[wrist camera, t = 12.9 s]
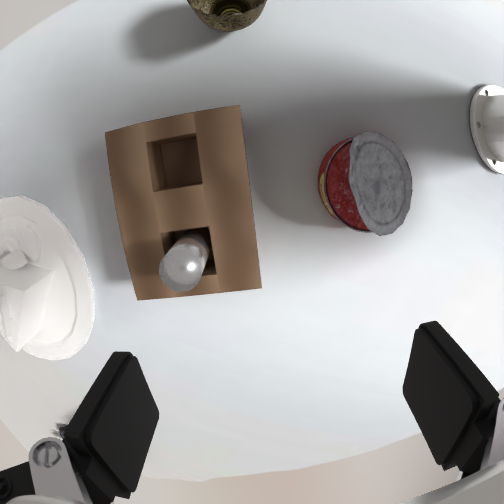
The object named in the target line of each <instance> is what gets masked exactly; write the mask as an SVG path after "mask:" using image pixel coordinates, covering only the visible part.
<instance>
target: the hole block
mask: <svg viewBox="0 0 504 504" xmlns="http://www.w3.org/2000/svg"><path fill="white" fill-rule="evenodd" d="M105 137H106V146H107V154H108V161H109V169H110V176H111V182H112V188H113V194H114V200H115V206H116V211H117V216H118V222H119V226H120V231H121V236H122V241H123V245H124V250H125V254H126V258H127V262H128V267H129V271H130V275H131V278H132V282H133V286H134V290H135V294H136V297H137V300H149V299H161V298H172V297H183V296H194V295H204V294H213V293H223V292H232V291H241V290H250V289H259V288H262V285H261V277H260V268H259V259H258V251H257V242H256V234H255V226H254V218H253V209H252V201H251V193H250V185H249V177H248V169H247V161H246V152H245V144H244V136H243V128H242V121H241V113H240V106H239V105H237V106H230V107H222V108H215V109H209V110H203V111H197V112H191V113H186V114H181V115H175V116H170V117H166V118H161V119H156V120H152V121H148V122H143V123H139V124H135V125H131V126H127V127H124V128H120V129H116V130H113V131H109V132H106V133H105ZM199 227H206V228H208V229H209V230H210V235H211V242H212V249H211V252H210V254H209V257H208V259H207V262H206V265H205V267H204V270H203V272H202V275H201V278H200V280H199V282H198V284H197V285H196V286H195V287H194V288H193V289H191V290H189V291H186V292H178V291H174V290H172V289H170V288H168V287H167V286H166V285H165V284H164V283H163V281H162V280H161V278H160V275H159V265H160V262H161V260H162V259H163V258H164V256H165V255H166V254H167V253H168V251H169V250H170V249H171V248H172V247H173V245H174V244H175V243H176V242H177V241H178V239H179V238H180V237H181V236H182V235H183V233H184V232H185V231H186V230H187V229H192V228H199Z"/></svg>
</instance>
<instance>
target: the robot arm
mask: <svg viewBox="0 0 504 504" xmlns="http://www.w3.org/2000/svg"><path fill="white" fill-rule="evenodd" d="M470 126H471V132H472V137H473V140H474V143H475V146H476V148H477V151H478V153H479V155H480V156H481V158H482V160H483V161H484V162H485V164H486V165H487V166H488V167H489V168H490V169H491V170H493V171H495V172H497V173H501V174H504V89H503V88H501V87H499V86H497V85H485V86H483V87H481V88H479V89H478V90H477V91H476V93H475V94H474V96H473V99H472V102H471V107H470ZM403 395H404V397H405V399H406V401H407V403H408V405H409V407H410V409H411V411H412V413H413V415H414V417H415V419H416V421H417V423H418V425H419V427H420V429H421V431H422V433H423V436H424V438H425V440H426V442H427V444H428V446H429V448H430V450H431V452H432V455H433V457H434V459H435V461H436V463H437V464H438V465H442V467H443V470H444V471H445V470H447V469H450V468H452V467H455V466H458V468H459V470H460V472H459V475H458V477H457V480H456V482H454V483H452V484H449V485H447V486H445V487H442V488H439V489H437V490H434V491H432V492H429V493H427V494H424V495H421V496H418V497H415V498H413V499H410V500H406V501H403V502H400V503H397V504H504V398H503V399H502V401H501V400H500V399H499V398H498V396H499V393H498V392H497V391H496V389H495V388H494V387H493V386H492V384H491V383H490V382H489V381H488V379H487V378H486V377H485V376H484V374H483V373H482V372H481V371H480V370H479V368H478V367H477V366H476V365H475V364H474V362H473V361H472V360H471V359H470V358H469V357H468V355H467V354H466V353H465V352H464V351H463V350H462V348H461V347H460V346H459V345H458V344H457V343H456V342H455V341H454V339H453V338H452V337H451V336H450V335H449V334H448V333H447V332H446V330H445V329H444V328H443V327H442V326H441V325H440V324H439V323H438V322H437V321H431V322H427V323H423V324H420V326H419V328H418V329H416V330H415V333H414V338H413V344H412V349H411V354H410V358H409V363H408V367H407V372H406V376H405V380H404V384H403ZM158 419H159V410H158V408H157V406H156V403H155V401H154V399H153V396H152V394H151V392H150V389H149V387H148V384H147V382H146V380H145V377H144V375H143V372H142V370H141V367H140V364H139V362H138V359H137V358H136V357H135V356H133V355H132V354H131V353H130V352H114V353H113V354H112V355H111V357H110V358H109V360H108V361H107V363H106V364H105V366H104V367H103V369H102V371H101V372H100V374H99V375H98V377H97V378H96V380H95V382H94V383H93V385H92V386H91V388H90V390H89V391H88V393H87V395H86V396H85V398H84V399H83V401H82V403H81V404H80V406H79V408H78V409H77V411H76V413H75V414H74V416H73V418H72V419H71V421H70V423H69V425H68V426H67V428H66V430H65V432H64V433H63V436H64V439H63V440H62V441H61V440H60V439H57V438H53V437H48V438H43V439H41V440H39V441H38V442H36V443H35V444H34V445H33V446H32V448H31V449H30V452H29V461H28V462H25V463H23V464H20V465H17V466H14V467H11V468H9V469H6V470H3V471H0V504H114V502H113V501H114V498H115V496H118V497H122V498H126V499H129V498H130V494H131V492H134V491H135V490H136V488H137V485H138V481H139V478H140V475H141V472H142V469H143V466H144V462H145V459H146V456H147V453H148V450H149V447H150V444H151V441H152V438H153V435H154V432H155V429H156V425H157V422H158Z"/></svg>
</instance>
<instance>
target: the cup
mask: <svg viewBox="0 0 504 504" xmlns="http://www.w3.org/2000/svg"><path fill="white" fill-rule="evenodd" d="M187 1H188V3H189V4H190V6H191V7H192V9H193V10H194V11H195V13H196V14H197V16H198V17H199V18H200V19H201V20H202V21H203V22H204V23H205V24H206V25H208V26H209V27H211V28H214V29H216V30H220V31H236V30H240V29H243V28H245V27H247V26H249V25H251V24H252V23H253V22H255V21H256V19H257V18H258V17H259V16H260V14H261V12H262V10H263V8H264V6H265V4H266V1H267V0H187ZM227 14H232V15H228V16H226V15H227Z"/></svg>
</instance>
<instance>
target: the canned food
mask: <svg viewBox="0 0 504 504" xmlns="http://www.w3.org/2000/svg"><path fill="white" fill-rule="evenodd" d="M318 189H319V193H320V197H321V199H322V202H323V204H324V206H325V207H326V209H327V210H328V211H329V213H330V214H331V215H333V216H334V217H335V218H336V219H337V220H339V221H341V222H342V223H343V224H344V225H346V226H347V227H349V228H351V229H353V230H356V231H360V232H366V233H368V232H374V233H376V234H378V235H379V236H382V235H386V234H392V233H393V232H394V231H395V230H396V229H397V228H398V227H399V226H400V225H402V224H403V222H404V219H405V217H406V215H407V213H408V211H409V209H410V201H411V195H412V177H411V172H410V169H409V166H408V163H407V161H406V159H405V158H404V155H403V154H402V153H401V152H400V150H399V149H398V148H397V147H396V145H395V144H394V143H393V141H391V140H389V139H388V138H386V137H384V136H383V135H381V134H380V133H372V132H364V133H362V134H360V135H358V136H356V137H354V138H349V139H346V140H344V141H341V142H339V143H338V144H336V145H335V146H334V147H332V148H331V149H330V151H329V152H328V153H327V154H326V156H325V157H324V159H323V161H322V163H321V166H320V169H319V175H318Z"/></svg>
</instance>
